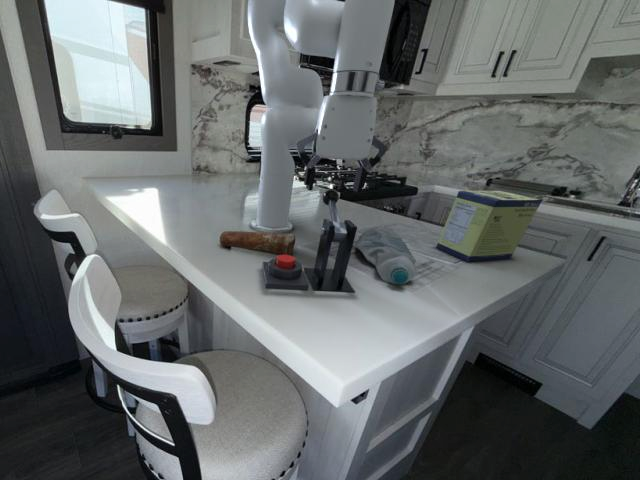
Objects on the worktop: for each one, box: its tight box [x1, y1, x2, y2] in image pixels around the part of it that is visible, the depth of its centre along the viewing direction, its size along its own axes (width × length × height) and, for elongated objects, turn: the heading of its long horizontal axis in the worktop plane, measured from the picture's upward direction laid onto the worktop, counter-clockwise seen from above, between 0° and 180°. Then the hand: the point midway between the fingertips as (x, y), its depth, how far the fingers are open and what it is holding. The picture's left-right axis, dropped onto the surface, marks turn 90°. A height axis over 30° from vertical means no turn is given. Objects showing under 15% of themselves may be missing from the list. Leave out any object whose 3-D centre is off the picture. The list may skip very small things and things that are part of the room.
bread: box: [219, 230, 296, 256], centre depth 75 cm, size 6×19×6 cm, turn 70°
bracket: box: [303, 218, 358, 294], centre depth 59 cm, size 10×8×13 cm
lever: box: [321, 188, 347, 243], centre depth 60 cm, size 13×3×3 cm, turn 0°
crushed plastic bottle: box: [355, 226, 417, 285], centre depth 69 cm, size 13×7×25 cm
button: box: [276, 254, 296, 269], centre depth 60 cm, size 4×4×2 cm
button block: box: [261, 257, 310, 291], centre depth 61 cm, size 10×8×4 cm
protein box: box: [435, 190, 543, 263], centre depth 80 cm, size 10×16×16 cm
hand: (332, 190), depth 61 cm, fingers open, 9 cm apart
